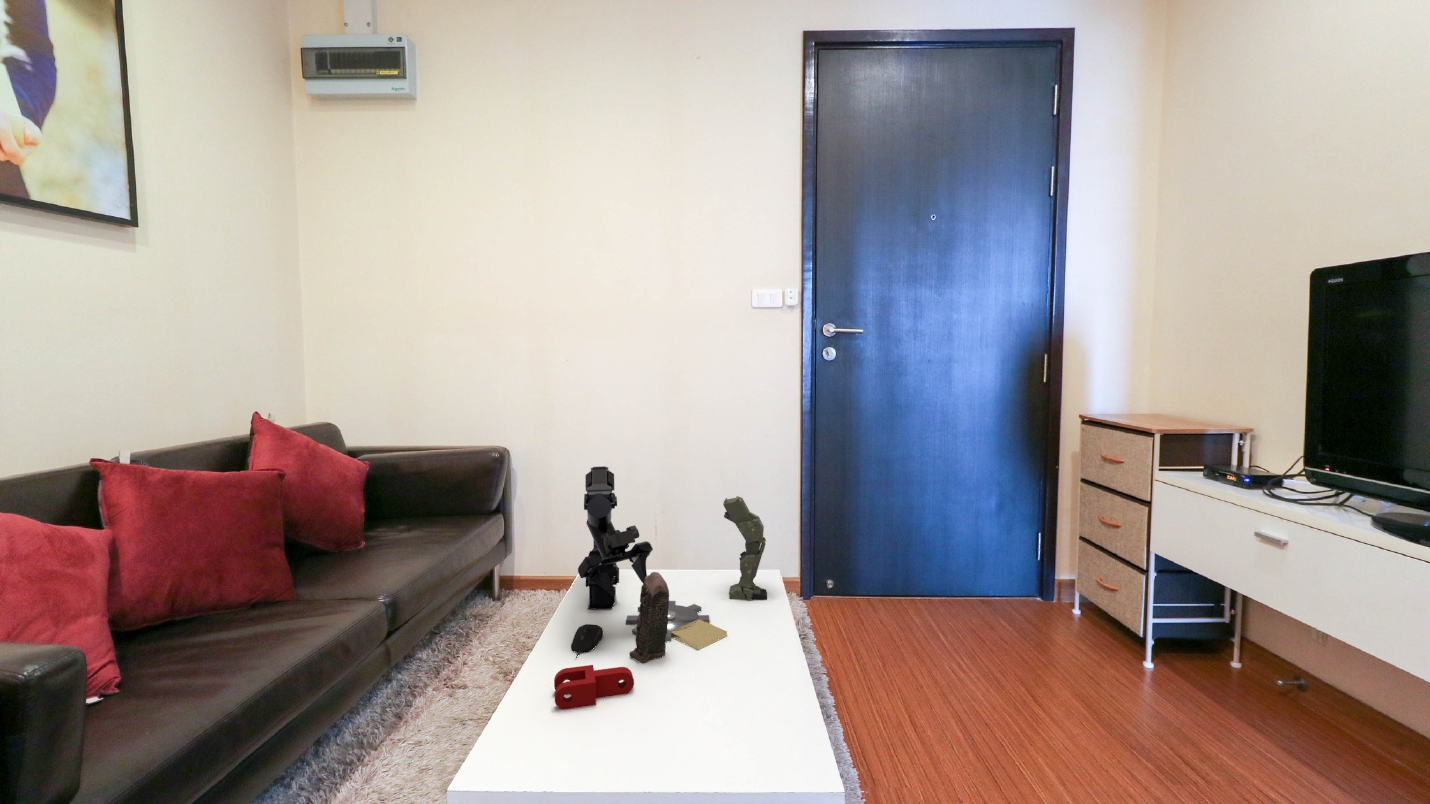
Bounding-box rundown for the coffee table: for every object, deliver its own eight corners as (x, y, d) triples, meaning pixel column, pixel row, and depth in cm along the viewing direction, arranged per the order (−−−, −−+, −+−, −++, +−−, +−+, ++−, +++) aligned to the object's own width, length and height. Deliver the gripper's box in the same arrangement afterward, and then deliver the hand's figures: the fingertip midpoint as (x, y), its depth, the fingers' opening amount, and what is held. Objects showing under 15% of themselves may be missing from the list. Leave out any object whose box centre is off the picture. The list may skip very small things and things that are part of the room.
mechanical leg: (779, 589, 184) (755, 489, 182) (779, 599, 177) (754, 495, 175) (733, 598, 186) (709, 500, 184) (731, 608, 178) (706, 506, 176)
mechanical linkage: (555, 712, 125) (554, 687, 124) (554, 692, 132) (553, 669, 131) (635, 700, 129) (635, 676, 129) (631, 682, 136) (630, 659, 135)
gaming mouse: (561, 660, 145) (561, 643, 145) (582, 630, 160) (582, 615, 160) (588, 661, 145) (588, 644, 144) (606, 632, 159) (606, 616, 159)
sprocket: (609, 622, 164) (609, 614, 164) (671, 598, 179) (671, 591, 179) (679, 658, 145) (679, 649, 145) (742, 628, 161) (742, 620, 160)
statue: (649, 646, 151) (648, 565, 149) (671, 655, 147) (670, 572, 145) (628, 657, 146) (627, 573, 144) (650, 667, 142) (649, 580, 140)
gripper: (583, 523, 147) (610, 583, 140) (648, 509, 159) (676, 563, 152) (566, 549, 153) (592, 607, 146) (630, 533, 166) (656, 586, 159)
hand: (630, 589), depth 151 cm, fingers open, 9 cm apart
